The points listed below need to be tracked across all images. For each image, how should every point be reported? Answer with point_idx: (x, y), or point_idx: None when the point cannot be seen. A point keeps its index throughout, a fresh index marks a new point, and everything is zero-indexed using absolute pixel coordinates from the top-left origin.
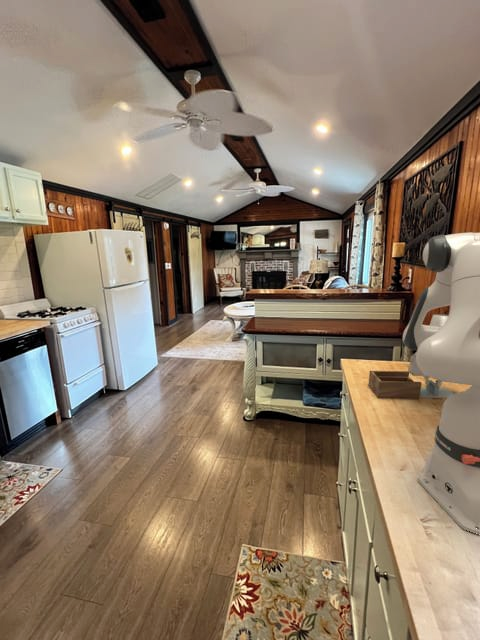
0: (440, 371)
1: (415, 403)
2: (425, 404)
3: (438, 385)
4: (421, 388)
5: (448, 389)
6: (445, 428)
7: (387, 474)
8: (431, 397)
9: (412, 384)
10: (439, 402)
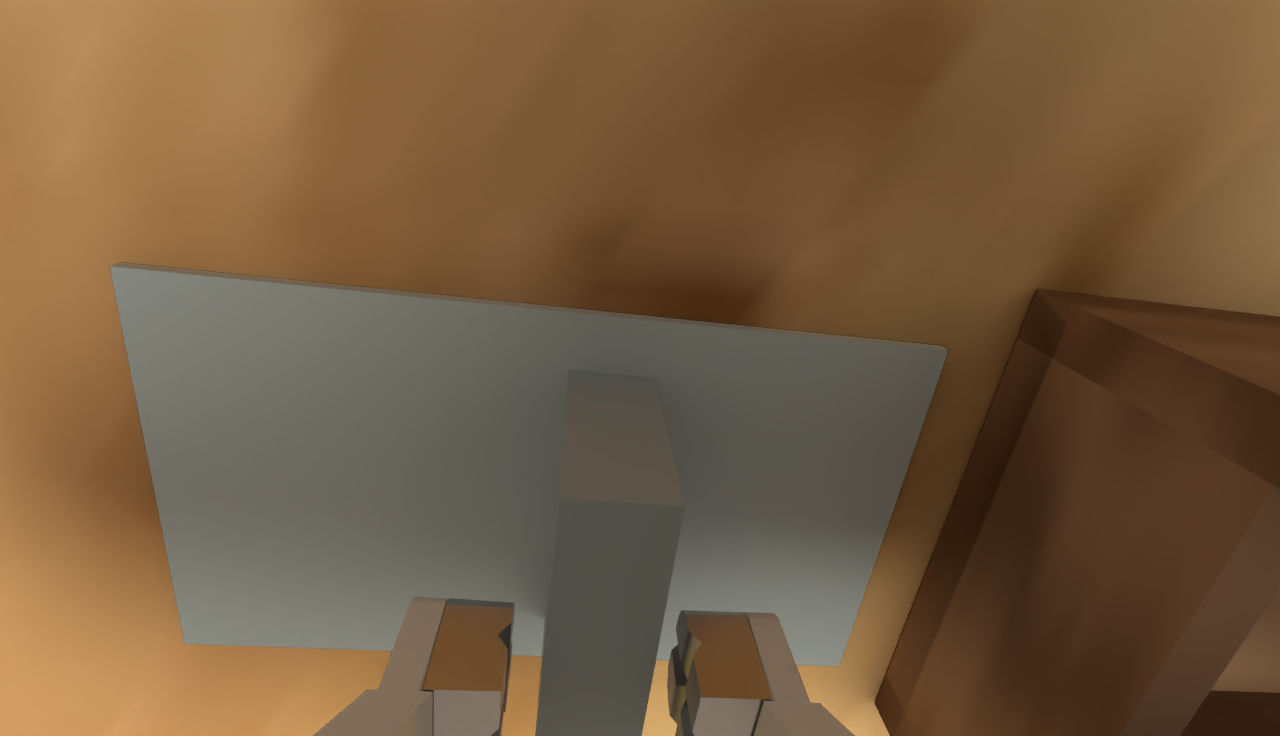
0: None
1: (1277, 114)
2: (1114, 43)
3: (484, 601)
4: None
5: (179, 590)
6: None
7: None
8: (743, 327)
9: None
10: (726, 102)
